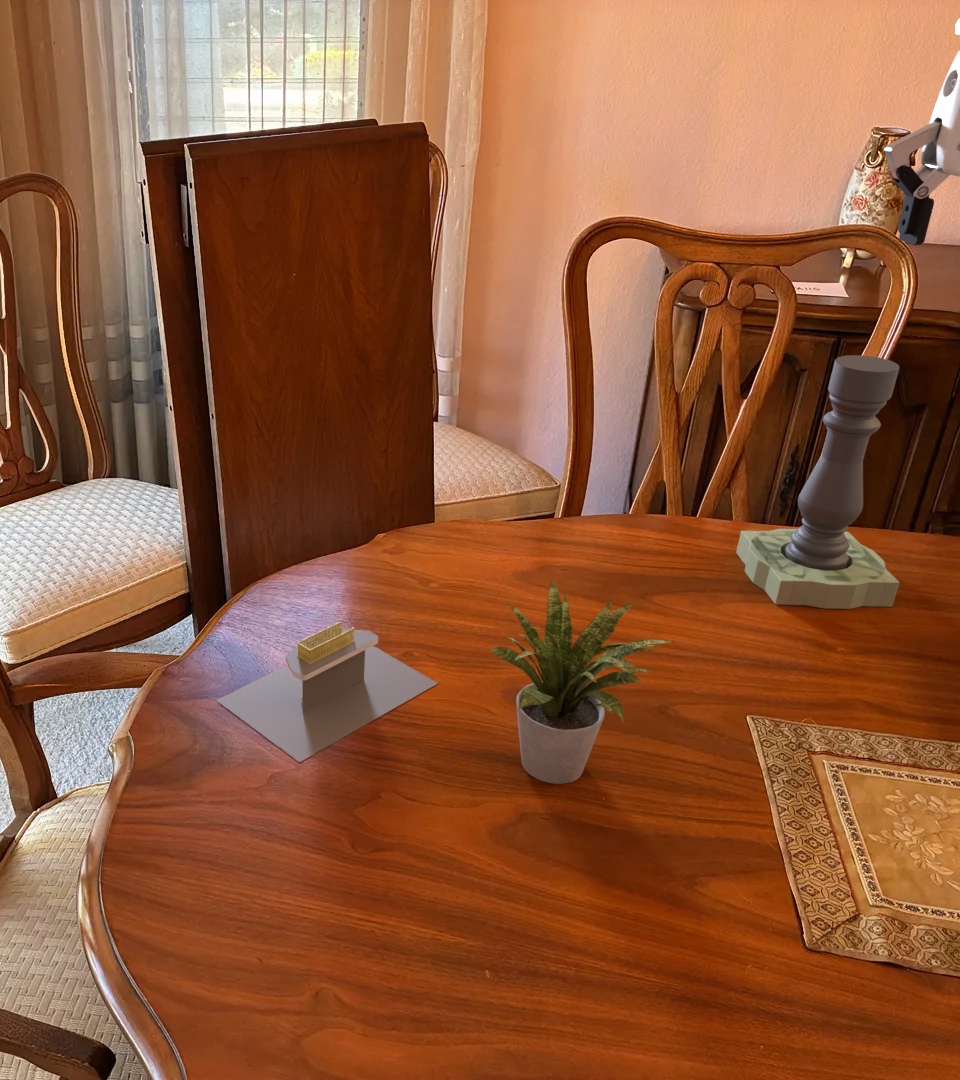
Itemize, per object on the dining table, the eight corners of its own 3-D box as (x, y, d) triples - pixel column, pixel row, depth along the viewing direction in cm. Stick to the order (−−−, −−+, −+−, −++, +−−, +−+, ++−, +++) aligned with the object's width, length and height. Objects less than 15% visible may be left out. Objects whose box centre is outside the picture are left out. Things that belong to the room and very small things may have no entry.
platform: (216, 700, 95) (213, 642, 92) (351, 633, 105) (352, 579, 102) (299, 762, 87) (299, 701, 84) (438, 683, 97) (442, 625, 94)
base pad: (845, 551, 118) (851, 529, 116) (901, 610, 106) (909, 585, 105) (728, 550, 119) (733, 527, 118) (771, 607, 107) (777, 583, 106)
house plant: (595, 860, 76) (627, 683, 68) (436, 783, 84) (449, 618, 76) (664, 764, 85) (699, 599, 78) (515, 703, 93) (534, 549, 86)
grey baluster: (842, 572, 113) (902, 359, 102) (839, 597, 109) (902, 375, 97) (782, 560, 116) (834, 351, 105) (776, 584, 112) (830, 367, 100)
